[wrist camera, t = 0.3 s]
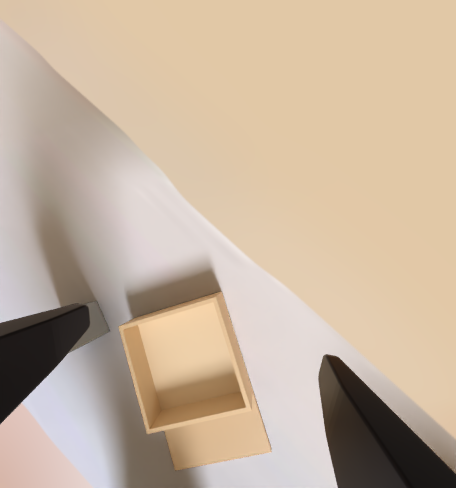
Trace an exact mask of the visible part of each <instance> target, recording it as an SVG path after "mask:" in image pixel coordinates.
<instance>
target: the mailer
mask: <svg viewBox="0 0 456 488" xmlns="http://www.w3.org/2000/svg"><path fill="white" fill-rule="evenodd" d="M119 331H120V335H121V338H122V342H123V346H124V350H125V353H126V357H127V361H128V365H129V368H130V372H131V376H132V380H133V383H134V387H135V391H136V395H137V398H138V402H139V406H140V409H141V413H142V417H143V421H144V424H145V428H146V432H147V434H150V433H155V432H159V431H164V432H165V436H166V439H167V443H168V447H169V450H170V454H171V457H172V461H173V465H174V468H175V471H176V470H181V469H186V468H192V467H197V466H202V465H207V464H212V463H218V462H223V461H228V460H233V459H238V458H243V457H249V456H254V455H259V454H264V453H269V452H271V446H270V443H269V440H268V436H267V433H266V430H265V427H264V424H263V421H262V417H261V414H260V411H259V408H258V405H257V402H256V398H255V395H254V392H253V389H252V386H251V383H250V379H249V376H248V373H247V370H246V367H245V364H244V360H243V357H242V354H241V351H240V348H239V345H238V341H237V338H236V335H235V332H234V329H233V326H232V322H231V319H230V316H229V313H228V310H227V307H226V304H225V300H224V297H223V294H222V291H221V292H218V293H214V294H211V295H208V296H205V297H201V298H198V299H195V300H192V301H188V302H185V303H182V304H179V305H175V306H172V307H169V308H166V309H162V310H159V311H156V312H153V313H149V314H146V315H143V316H140V317H136V318H134V319H132V320H130V321H128V322H126V323H124V324H123V325H121V326H119Z"/></svg>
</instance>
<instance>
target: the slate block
mask: <svg viewBox="0 0 456 488" xmlns="http://www.w3.org/2000/svg"><path fill="white" fill-rule="evenodd" d="M84 305H87V306H88V307H89V314H90V326H89V328H88V330H87V331H86V332H85V333H84V335H83V336H82V337H81V338H80V339H79V341H78V342H77V343H76V344H75V345H74V347H73V348H72V349H71V350H70V351H69V352H68V353H70V352H72V351H74V350H75V349H77V348H79V347H81V346H83V345H85V344H87V343H89V342H90V341H92V340H94V339H96V338H98V337H100V336H102V335H104V334H106V333H107V332H109V331H110V330H109V328H108V326H107V323H106V321H105V319H104V316H103V314H102V312H101V310H100V307H99V305H98V303H97V301H94V302H91V303H87V304H84Z"/></svg>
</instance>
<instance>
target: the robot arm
mask: <svg viewBox="0 0 456 488" xmlns="http://www.w3.org/2000/svg"><path fill="white" fill-rule="evenodd" d="M89 326H90V314H89V307H88V306H87V305H84V304H79V303H77V304H72V305H69V306H65V307H61V308H57V309H53V310H49V311H45V312H41V313H37V314H34V315H30V316H26V317H22V318H18V319H14V320H10V321H6V322H2V323H0V424H1V423H2V422H3V421H4V420H5V419H6V418H7V417H8V416H9V415H10V414H11V413H12V412H13V411H14V409H16V407H18V405H19V404H20V403H21V402H22V401H23V400H24V399H25V398H26V397H27V396H28V395H29V394H30V393H31V392H32V391H33V390H34V389H35V388H36V387H37V386H38V385H39V384H40V383H41V382H42V381H43V380H44V379H45V378H46V377H47V376H48V375H49V374H50V373H51V372H52V371H53V370H54V368H55V367H56V366H57V365H58V364H59V363H60V362H61V361H62V360H63V358H64V357H65V356H66V355H67V354H68V352H69V351H70V350H71V349H72V348H73V347H74V345H75V344H76V343H77V342H78V341H79V339H80V338H81V337H82V336H83V335H84V333H85V332H86V331H87V330H88V328H89ZM319 388H320V395H321V403H322V410H323V418H324V425H325V432H326V437H327V442H328V447H329V451H330V455H331V460H332V464H333V468H334V473H335V477H336V481H337V486H338V488H456V474H455V473H454V472H453V471H452V470H451V469H450V468H449V467H448V466H447V465H446V464H445V463H444V462H443V461H442V460H441V459H440V458H439V457H438V456H437V455H436V454H435V453H434V452H433V451H432V450H431V449H430V448H429V447H428V446H427V445H426V444H425V443H424V442H423V441H422V440H421V439H420V438H419V437H418V436H417V435H416V434H415V433H414V432H413V431H412V430H411V429H410V428H409V427H408V426H407V425H406V424H405V423H404V422H403V421H402V420H401V419H400V418H399V417H398V416H397V415H396V414H395V413H394V412H393V411H392V410H391V409H390V408H389V407H388V406H387V405H386V404H385V403H384V402H383V401H382V400H381V399H380V398H379V397H378V396H377V395H376V394H375V393H374V392H373V391H372V390H371V389H370V388H369V387H368V386H367V385H366V384H365V383H364V382H363V381H362V380H361V379H360V378H359V377H358V376H357V375H356V374H355V373H354V372H353V371H352V370H351V369H350V368H349V367H348V366H347V365H346V364H345V363H344V362H343V361H342V360H341V359H340V358H339V357H337V356H333V355H328V354H326V355H324V356H323V359H322V363H321V367H320V371H319Z"/></svg>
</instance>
